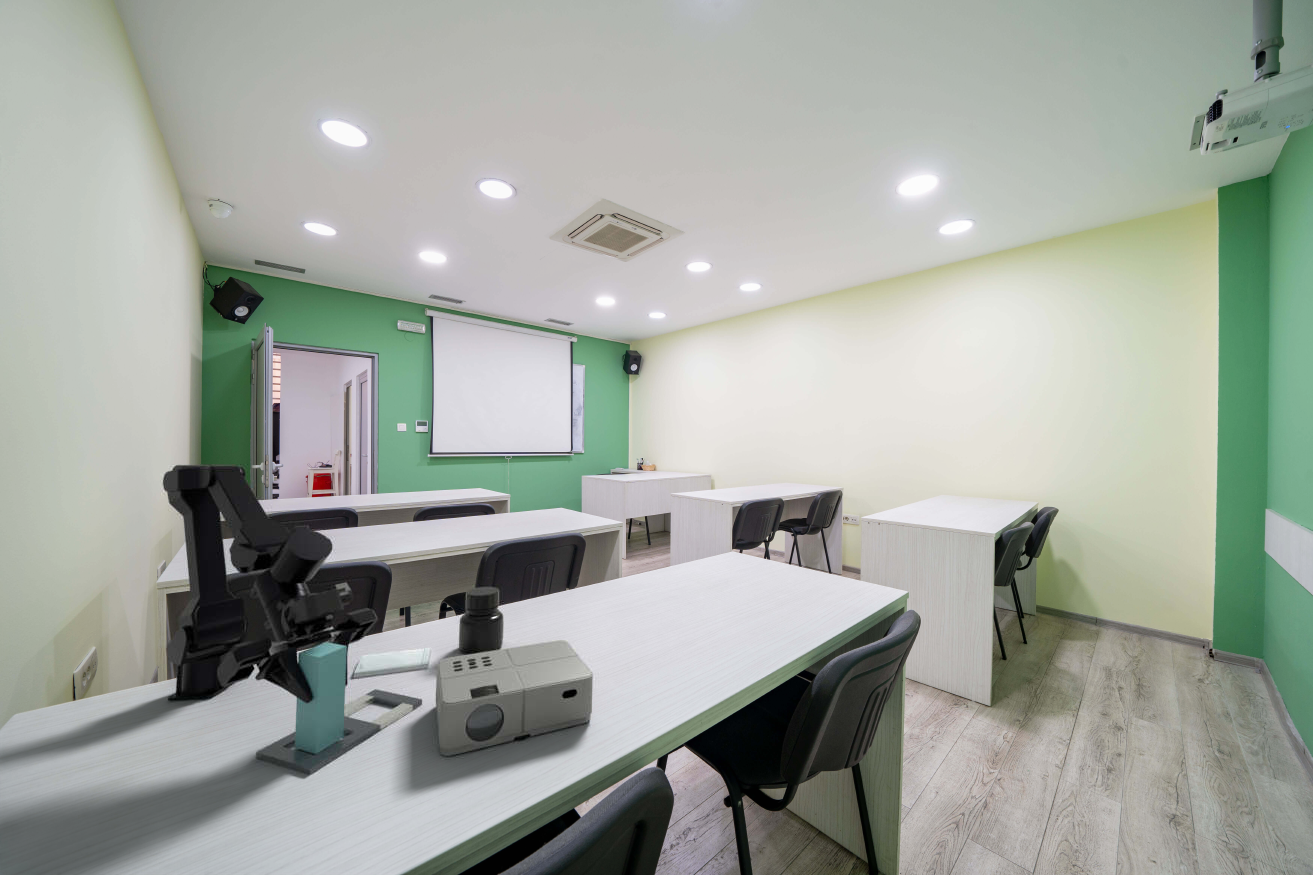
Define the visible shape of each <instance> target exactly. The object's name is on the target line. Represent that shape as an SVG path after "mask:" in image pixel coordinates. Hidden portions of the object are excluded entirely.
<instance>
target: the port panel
mask: <svg viewBox="0 0 1313 875" xmlns="http://www.w3.org/2000/svg"><path fill="white" fill-rule="evenodd" d="M372 703H379V704H383V705H387V706H393V707H394V708H392V709H390V710H388V711H386V712H385V713H384V714H382V715H381V716H379V717H377V718H375V719H373V720H372V721H366V720H361V719H358V718H353V717H349V716H351V715H353V714H354V713H356V712H358V711H360V710H362V709H364V708H365V707H367V706H369V705H371V704H372ZM422 705H423V698H418V697H413V696H408V695H404V694H400V693H399V694H398V693H394V692H390V691H386V690H380V689H376V688H375V689H373V690H372V691H369V692H368V693H366V694H363V695H362V696H360V697H358V698H356V699H354V700H352V701H351V702H349V703H347V704H345V706H344V733H343V735H346V736H345V737H343V738H342V739H340V740H338V741H337V742H335V743H333V744H332V745H330V746H328V747H327V748H325V749H324V750H322V751H320V752H319V753H317V754H314V755H313V754H311V753H310V754H309V753H305V752H303V751H298V750H296V749H292V748H293V747H295V731H293V732H292V733H290V734H288V735H286V736H284V737H282V738H281V739H279V740H276V741H275V742H272V743H271V744H269V745H267V746H265V747H263V748H261V749H259V750H257V751H256V752H255V759H257V760H260V761H264V762H267V763H270V764H274V765H277V766H280V767H283V768H287V769H290V770H293V771H297V772H299V773H303V774H307V775H309V776H310V775H312V774H314V773H315V772H317V771H318V770H320V769H322V768H323V767H325V766H326V765H328V764H329V763H331V762H332V761H334V760H336V759H338V758H339V757H340V756H342V755H343V754H344V755H345V754H346V753H347V752H348V751H350V750H352V749H353V748H355V747H357V746H358V745H360V744H362V743H363V742H365V741H366V740H368V739H369V738H370V737H371V738H372V736H374V735H376V734H377V733H379V732H380V731H382V730H384V729H385V728H386V727H388V726H390V725H391V724H393V723H395V722H396V721H398V720H399V719H402V717H404V716H405V715H407V714H409V713H410V712H412V711H413V710H415V709H417V708H418V707H420V706H422Z"/></svg>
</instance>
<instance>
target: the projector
mask: <svg viewBox="0 0 1313 875" xmlns="http://www.w3.org/2000/svg"><path fill="white" fill-rule="evenodd" d="M593 675H594V674H593V671H592V670H591V669H590V668H589V666H588V665H587V664H586V662H584V660H582V658H581V657H580V656H579V655H578V653H577V652H576V650H575V649H574V648H573V647H572V645H571V644H570V643H569V642H568V641H566V640H562V639H559V640H553V641H552V640H551V641H546V642H541V643H540V642H539V643H534V644H533V643H532V644H527V645H520V646H515V647H514V646H513V647H507V648H502V649H497V650H494V651H488V652H481V653H475V654H464V655H457V656H451V657H450V656H449V657H445V658H442V659H440V660H438V662H437V663H436V679H435V680H436V682H435V709H436V721H437V722H436V723H437V734H438V735H437V736H438V745H439V752H440V754H441V755H442V756H446V757H449V756H450V757H451V756H454V755H458V754H463V753H466V752H471V751H475V750H479V749H483V748H487V747H492V746H495V745H499V744H503V743H509V742H512V741H514V740H515V741H523V740H526V739H528V738H529V736H530V737H532V736H537V735H541V734H546V733H549V732H553V731H557V730H562V729H566V728H571V727H573V726H578V725H583V724H586V723H588V722H589V721H590V720H591V718H592V717H591V716H592V715H591V714H592V713H593V685H594V684H593V679H594V677H593Z"/></svg>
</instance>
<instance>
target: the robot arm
mask: <svg viewBox="0 0 1313 875" xmlns="http://www.w3.org/2000/svg"><path fill="white" fill-rule="evenodd" d="M162 487H163V490H164V491H165V492H166V493H167V499H168V503H169V505H170V506H172V507H173V509H175V510H176V511H177V512H178V514H180V515H181V516H182V517H183V526H184V527H183V529H184V537H185V538H184V539H185V540H184V541H185V549H186V560H187V561H186V562H187V572H188V583H189V593H190V594H189V595H190V600H189V602H188V603H187V605H186V607H185V608H184V609H183V611H182V613H181V615H180V616H179V618H178V628H177V630H176V631H175V633H174V635H172V637H171V639H170V641H169V642H168V644H167V645H166V648H165V651H166V660H167V661H168V662H170V663H174V664H175V665H176V666H177V668H176V669H177V670H176V683H175V692H174V693H172V694H170V695H169V696H167V701H176V700H177V701H179V700H180V701H182V700H194V699H196V700H197V699H198V700H199V699H209V698H214V697H215V696H216V695H218V694H219V693H221V692H222V691H224V690H225V689H227V688H228V687H230V686H232V685H233V684H236V683H238V682H241V681H244V680H247V679H249V678H250V676H252V674H253V672H254V670H255V665H256V667H257V669H258V670H259V671H258V672H257V674H256V675H255V676H254V678H255V680H256V681H261V680H265V681H267V682H269V683H272V684H273V685H276V686H277V687H279V688H282V689H283V690H285V691H287V692H288V693H290V694H291V695H292V696H294V697H296V699H297V698H299V699H300V700H302V701H303V702H305V703H309V702H311V700H312V699H313V697H312V693H311V690H310V687H309V685H308V683H307V681H306V679H305V677H304V675H303V672H302V670H301V668H300V666H299V664H298V651H301V650H305V649H307V648H308V649H309V648H312V647H315V646H318V645H321V644H323V643H326V642H328V643H333V644H338V645H343V646H347V652H346V679H345V688H346V687H347V686H348V683H349V682H348V681H349V680H348V678H349V677H348V674H349V672H348V651H349V646H350V644H353V643H356V642H359V641H360V640H362V639H364V638H365V636H366V635H367V634H368V633H369V632H370V630H371V629H372V627H373V626H375V624H376V623H377V622H378V620H379V618H378V616H377V614H376V612H375V611H374V610H373V609H372V608H370V607H369V608H368V607H364V608H361V609H357V610H355V611H350V612H347V613H345V614H344V616H342V618H341V620H340V621H339V622H338V623H337V624H335V625H332V626H328V627H326V624H329V623H331V622H332V620H333V618H334V617H333V614H335V613H337V612H341V611H342V612H343V611H344V610H345V608H344V606H346V605H349V604H350V603H352V601H353V599H354V596H353V592H352V589H351V587H350V586H349V584H348V583H347V582H342V583H337V584H335V585H334V586H331V587H329V590H327V591H323V592H316V591H315V592H312V593H311V592H310V590H309V588H308V585H307V583H306V582H309V581H310V580H311V579H313V577H314V576H315V575H316V574H317V572H318V571H319V569H320V568H321V567H322V565H323V564H324V563H325V562H326V560H327V558H328V557H329V556H330V554H331V553H332V550H333V542H332V540H331V539H330V538H328V537H327V536H325V535H324V534H323V533H321V532H318V531H316V530H315V531H314V530H311V529H310V527H309V525H307V524H305V525H297V526H293V527H292V528H291V529H290V530H289V529H288V528H287V527H286V526H285V525H284V524H283V523H280V522H277V521H275V520H273V519H271V518H270V517H269V516H268V514H267V513H266V511H265V509H264V508H263V506H262V505H261V503H260V501H259V500H258V498H257V496H256V494H255V493H254V491H253V489H252V487H251V486H250V485H249V482H248V481H247V478H246V471H245V469H244V467H243V466H241V465H240V466H239V465H236V464H177V465H175V466H173V468H172V469H171V470H168V471H166V472H165V473H164V475H163V479H162ZM221 515H222V517H223V519H224V521H225V523H226V524H227V527H228V529H229V530H230V532H231V534H232V536H233V541H232V543H231V545H230V547H229V550H228V551H229V554H230V563H231V565H232V566H233V568H234V569H236V571H237V572H239V574H245V575H246V574H247V575H249V574H253V573H259V572H261V573H260V574H259V576H258V577H257V579H255V581H254V583H253V587H252V588H251V590H250V598H251V599H254V598H258V600H259V602H260V604H261V607H262V609H263V611H264V614H265V617H266V620H265V621H264V623H263V625H264V628H265V630H270V629H271V631H272V633H273V636H274V638H275V641H271V639H270V638H269V637H266V636H262V637H259V638H255V639H251V640H248V641H245V639H246V635H247V633H248V632H247V631H248V626H249V620H248V617H247V615H246V613H245V601H244V600H243V598H242V597H241V596H239V597H236V596H235V595H234V594H233V593H232V592H231V591H229V586H228V585H229V584H228V578H227V577H228V576H227V567H226V566H227V565H226V558H225V555H226V554H225V547H224V546H225V545H224V538H223V535H224V534H223V526H222V518H221Z"/></svg>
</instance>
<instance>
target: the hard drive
mask: <svg viewBox="0 0 1313 875" xmlns="http://www.w3.org/2000/svg"><path fill="white" fill-rule="evenodd" d="M431 654H432V647H428V648H418V649H409V650H399V651H391V652H384V653H374V654H373V653H372V654H366V655H365V654H364V655H361V658H360V660H359V662H358V664H357V666H356V668H355V670H354V671H353V679H358V678H364V677H365V678H366V677H372V676H379V675H386V674H387V675H388V674H392V673H393V674H394V673H395V674H396V673H402V672H408V671H409V672H410V671H416V670H424V669H429V666H430V661H431V660H430V659H431Z"/></svg>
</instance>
